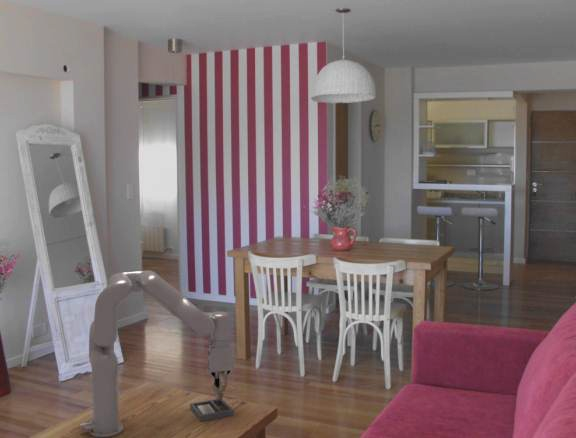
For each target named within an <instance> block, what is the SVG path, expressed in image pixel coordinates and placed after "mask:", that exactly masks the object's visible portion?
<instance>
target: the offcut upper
mask: <svg viewBox="0 0 576 438" xmlns="http://www.w3.org/2000/svg"><path fill="white" fill-rule="evenodd" d="M197 409H198V410H199V412H200V413H201V414H202V415H203V414H209V413H214V412H215V411H214V410H213V409H212V407H211V406H210V405H209V404H206V405H200V406H197Z"/></svg>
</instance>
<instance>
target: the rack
mask: <svg viewBox="0 0 576 438" xmlns="http://www.w3.org/2000/svg"><path fill="white" fill-rule="evenodd" d="M206 404H209V405H210V406H211V407H212V409H213V410H214V411H215V412H214V413H209V414H203V415H202V414H201V413H200V412H199V410H198V409H197V406H200V405H206ZM189 405H190V406H189V410H190V411H191V412H192V413H193V415H194V416H195V417H196V418H197V419H198V421H199V422H200V423H201V422H205V421H212V420H217V419H223V418H227V417H233V416H234V409H233V408H232V407H231V406H230V405H229V404H228V403H227V402H226V401H225V400H224V399H223V398H222V400H220V401H217V400H216V398H215V399H209V400H204V401H203V400H202V401H197V402H191V403H189ZM219 406H221V407H222V408H223V409H224V410H221V408H220V407H219Z"/></svg>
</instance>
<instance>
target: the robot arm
mask: <svg viewBox="0 0 576 438" xmlns="http://www.w3.org/2000/svg"><path fill="white" fill-rule="evenodd" d="M141 292H142V293H144V294H145V295H146V296H147V297H149V298H150V299H151V300H152V301H154V302H155V303H157V304H158V305H159V306H161V307H162V308H163V309H165V310H166V311H167V312H168V313H170V314H171V315H172V316H174V317H175V318H176V319H177V318H178V320H180V321H182V322H183V323H184V324H185V325H186V326H188V327H189V328H190V329H192V331H194V332H196V333H197V334H198V335H200V336H202V337H209V336H210V340H209V341H207V345H209V347H208V352H207V359H206V360H207V362H206V363H207V365H206V366H207V368H206V370H205V373H206V375H211V376H213V378H214V380H215V386H216V387H217V388H219V377H218V372H221V371H224V374H225V377H226V378H227V377H228V375H229V374H230V373H231V372H233V371H234V370H235V367H234V366H235V362H234V353H233V346H232V345H231V344H230V339H231V338H230V332H231V331H230V327H231V326H230V323H231V322H230V320H231V319H230V314H229V313H228V312H227V311H223V310H222V311H214V312H209V311H208V312H207V311H206V312H205V311H202V310H200V309H199V308H198V307H197V306H195V305H194V304H193V303H192V302H191V301H190V300H189V298H187V297H186V296H185V295H184V294H183V293H181V292H180V291H179V290H178V289H177V288H175V287H174V286H173V285H171V284H170V283H169V282H167V281H166V280H165V279H163V278H162V277H160V275H158V274H157V272H155V271H154V270H149V269H148V270H136V271H125V272H123V271H122V272H117V273H116V272H115V273H114V274H112V275H110V277H109V278H108V280H107V286H106V287H105V288H103V290H102V291H101V292H100V293H99V295H98V296H97V297H96V300H95V305H94V317H93V321H92V323H91V324H90V328H89V334H88V336H89V339H88V342H89V343H88V358H89V363H90V366H91V393H92V397H91V398H92V418H91V420H90V421H89V422H84V423H80V424H79V425H80V429H81V430H82V429H84V431H88V432H89V435H91V436H92V437H96V438H108V437H113V436H117V435H119V434H121V432H123V431H124V424H123V423H122V422H120V409H119V407H120V404H119V361H118V357H117V355H116V353H115V342H116V341H117V339H118V336H119V335H118V334H119V332H118V321H119V320H118V316H119V308H120V306H121V304H122V302H124V301H125V300H127V299H129V297H130V296H131V295H132V294H134V293H141Z"/></svg>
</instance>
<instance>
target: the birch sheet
mask: <svg viewBox="0 0 576 438" xmlns="http://www.w3.org/2000/svg"><path fill="white" fill-rule="evenodd" d="M218 377H219V388H217V387H216V386H215V379H213V380H214V381H213V384H212V390H213V392H214V396H215V399H216V400H217V401H220V400H222V399H223V397H224V393H225V391H226V388H227V385H228V381H227V377H225V374H224V371H221V372H218Z"/></svg>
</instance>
